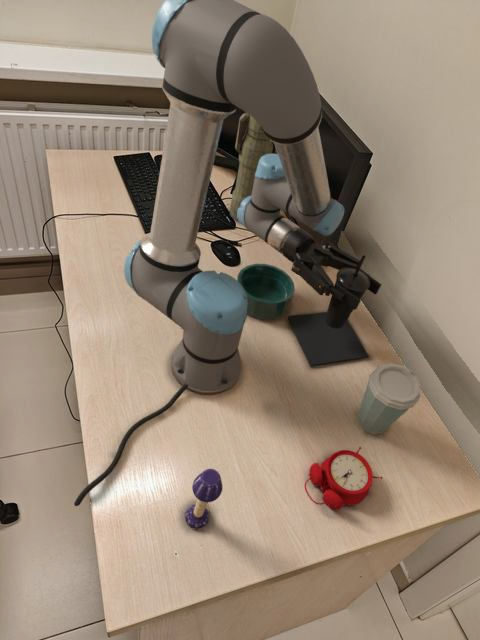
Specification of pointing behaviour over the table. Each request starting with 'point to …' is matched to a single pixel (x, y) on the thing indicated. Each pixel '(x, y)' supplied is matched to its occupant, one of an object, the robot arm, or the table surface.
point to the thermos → (248, 159)
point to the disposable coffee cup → (387, 397)
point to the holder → (325, 340)
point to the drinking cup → (353, 283)
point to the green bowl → (266, 290)
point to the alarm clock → (342, 479)
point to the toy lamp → (203, 497)
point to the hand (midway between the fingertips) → (368, 297)
